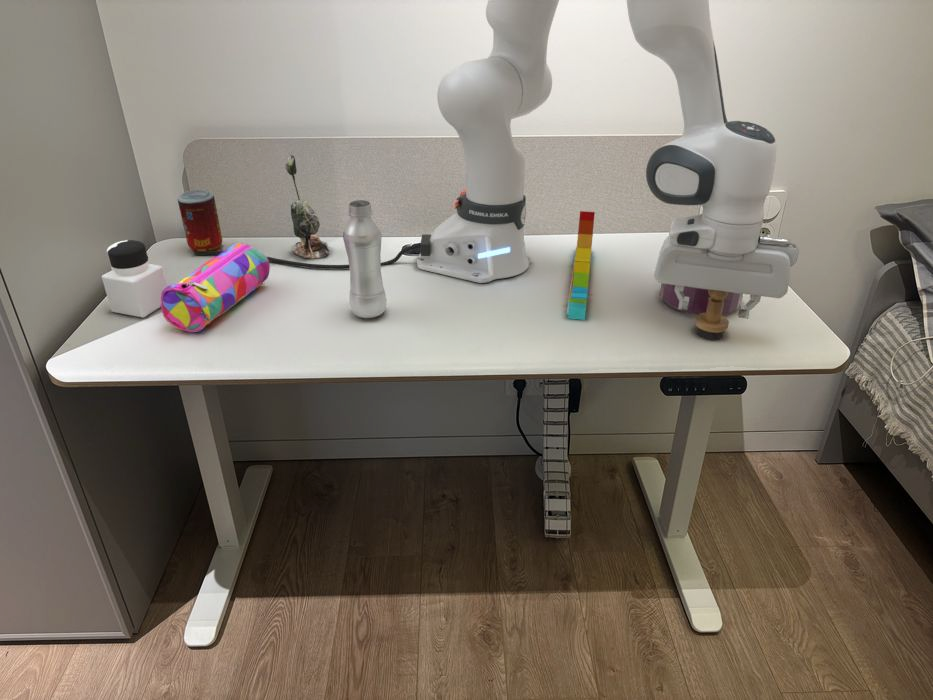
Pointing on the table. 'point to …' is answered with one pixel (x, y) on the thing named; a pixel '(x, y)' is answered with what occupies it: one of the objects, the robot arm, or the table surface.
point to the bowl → (698, 299)
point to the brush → (712, 317)
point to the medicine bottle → (133, 280)
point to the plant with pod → (305, 223)
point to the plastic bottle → (364, 261)
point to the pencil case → (214, 287)
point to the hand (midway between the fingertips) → (712, 312)
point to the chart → (581, 267)
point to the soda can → (200, 220)
